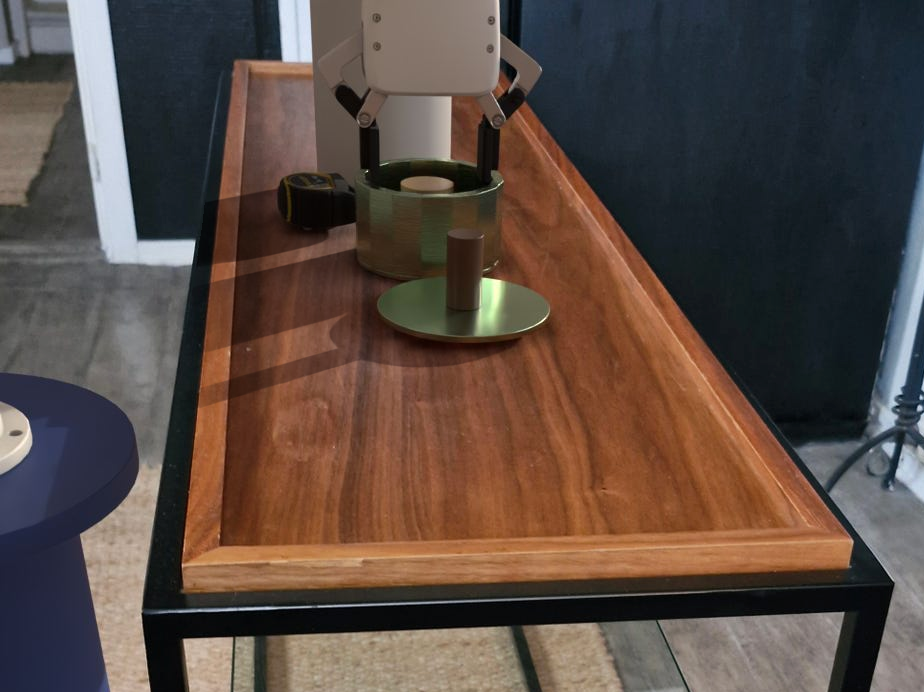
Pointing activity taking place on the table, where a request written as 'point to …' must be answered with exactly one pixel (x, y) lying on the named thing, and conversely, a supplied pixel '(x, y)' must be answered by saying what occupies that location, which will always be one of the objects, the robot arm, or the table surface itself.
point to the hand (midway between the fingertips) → (429, 178)
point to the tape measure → (316, 200)
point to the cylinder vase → (337, 133)
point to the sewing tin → (423, 217)
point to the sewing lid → (463, 300)
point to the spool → (427, 185)
